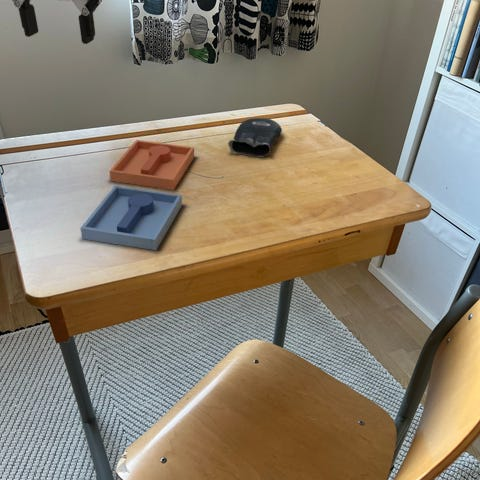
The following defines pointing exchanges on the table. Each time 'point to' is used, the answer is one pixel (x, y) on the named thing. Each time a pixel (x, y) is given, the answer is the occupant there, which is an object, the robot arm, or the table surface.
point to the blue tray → (146, 229)
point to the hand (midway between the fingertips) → (60, 38)
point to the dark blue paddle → (135, 212)
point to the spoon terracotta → (156, 159)
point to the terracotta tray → (164, 174)
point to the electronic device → (255, 137)
